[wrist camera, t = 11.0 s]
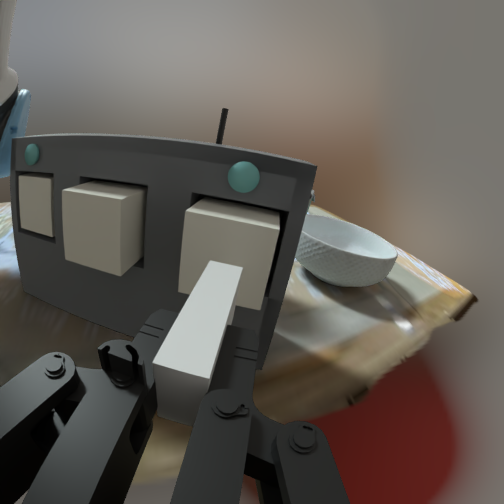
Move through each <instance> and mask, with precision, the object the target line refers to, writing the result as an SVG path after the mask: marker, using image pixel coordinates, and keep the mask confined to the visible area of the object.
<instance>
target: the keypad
mask: <svg viewBox="0 0 504 504" xmlns="http://www.w3.org/2000/svg"><path fill="white" fill-rule="evenodd" d="M316 170H317V166H315V165H313V164H311V163H309V162H307V161H303V160H299V159H295V158H290V157H285V156H281V155H276V154H271V153H266V152H261V151H256V150H251V149H245V148H239V147H233V146H227V145H221V144H214V143H206V142H199V141H192V140H183V139H174V138H164V137H153V136H139V135H122V134H47V135H36V136H27V137H18V138H12V143H11V162H10V191H11V211H12V223H13V232H14V240H15V248H16V254H17V260H18V266H19V271H20V276H21V280H22V285H23V289H24V292H26V293H28V294H30V295H32V296H34V297H36V298H38V299H41V300H43V301H45V302H47V303H49V304H51V305H53V306H55V307H58V308H60V309H62V310H64V311H67V312H69V313H71V314H74V315H76V316H78V317H81V318H83V319H86V320H88V321H91V322H93V323H96V324H98V325H101V326H104V327H106V328H109V329H112V330H115V331H117V332H120V333H123V334H126V335H129V336H132V337H136V335H137V334H138V333H139V331H140V329H141V328H142V326H143V325H144V324H145V322H146V321H147V319H148V318H149V316H150V315H151V314H153V313H154V312H156V311H158V310H160V309H164V310H168V311H171V312H175V313H180V312H181V310H182V308H183V306H184V305H185V303H186V301H187V299H188V298H189V296H190V295H189V294H185V293H181V292H178V286H179V272H180V259H181V248H182V238H183V228H184V219H185V211H186V210H187V209H189V208H190V207H191V206H193V205H194V204H196V203H197V202H198V201H200V200H201V199H203V198H204V197H207V198H213V199H218V200H223V201H229V202H234V203H239V204H244V205H249V206H254V207H259V208H263V209H268V210H273V211H278V212H279V220H280V230H279V235H278V239H277V243H276V247H275V252H274V256H273V260H272V264H271V268H270V273H269V277H268V281H267V285H266V289H265V293H264V297H263V301H262V305H261V309H260V310H256V309H251V308H246V307H241V306H237V305H236V306H235V311H234V316H233V320H232V324H231V325H232V326H236V327H241V328H246V329H251V330H255V332H256V335H257V337H258V339H259V346H258V354H257V361H256V369H260V370H262V367H263V364H264V361H265V358H266V355H267V351H268V348H269V345H270V342H271V338H272V335H273V332H274V329H275V325H276V322H277V319H278V315H279V312H280V308H281V305H282V302H283V298H284V295H285V291H286V288H287V284H288V280H289V277H290V273H291V270H292V266H293V262H294V259H295V255H296V251H297V247H298V243H299V240H300V236H301V232H302V228H303V224H304V220H305V216H306V212H307V208H308V204H309V200H310V196H311V191H312V187H313V183H314V178H315V174H316ZM31 172H43V173H54V225H55V236H54V237H50V236H47V235H43V234H40V233H37V232H33V231H30V230H27V229H24V228H21V220H20V206H19V176H20V175H23V174H27V173H31ZM94 180H98V181H106V182H114V183H121V184H128V185H135V186H141V187H148V193H147V205H146V220H145V239H144V256H143V257H142V258H140V259H139V260H138V261H137V262H136V263H135V264H134V265H133V266H132V267H131V268H129V269H128V270H127V271H126V272H125V273H124V274H123V275H122V276H118V275H114V274H111V273H107V272H104V271H101V270H97V269H94V268H91V267H88V266H84V265H81V264H78V263H75V262H72V261H69V260H66V259H65V250H64V238H63V220H62V190H64V189H67V188H70V187H74V186H77V185H80V184H84V183H87V182H91V181H94Z"/></svg>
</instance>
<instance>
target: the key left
mask: <svg viewBox="0 0 504 504" xmlns="http://www.w3.org/2000/svg"><path fill="white" fill-rule="evenodd" d="M19 206H20V220H21V228H24V229H27V230H30V231H33V232H37V233H40V234H43V235H47V236H50V237H54V236H55V225H54V173H43V172H31V173H27V174H23V175H20V176H19Z"/></svg>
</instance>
